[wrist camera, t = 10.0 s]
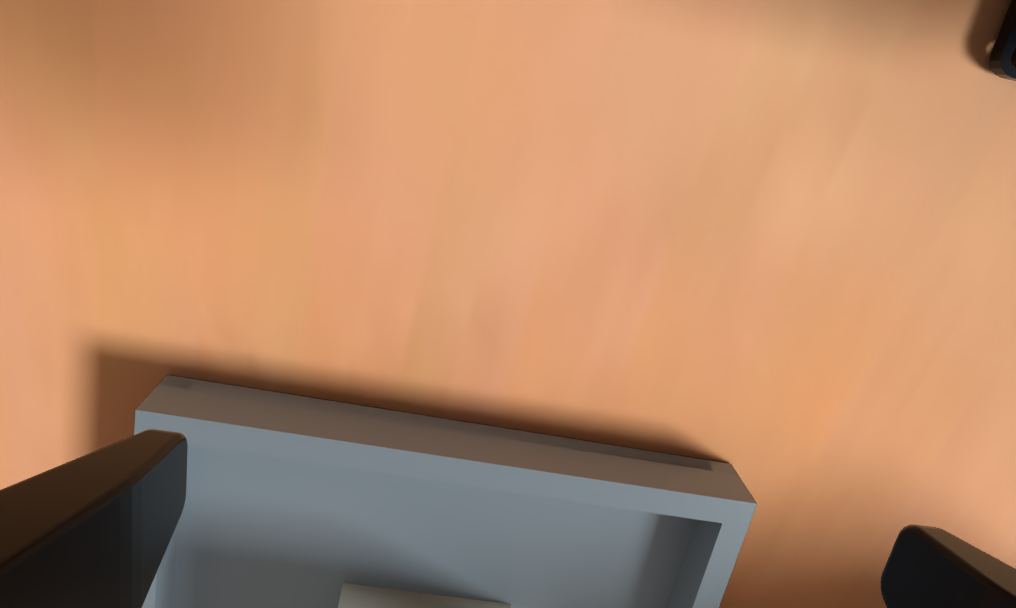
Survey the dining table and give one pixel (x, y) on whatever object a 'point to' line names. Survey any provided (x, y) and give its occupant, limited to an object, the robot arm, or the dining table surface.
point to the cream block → (404, 599)
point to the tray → (430, 509)
